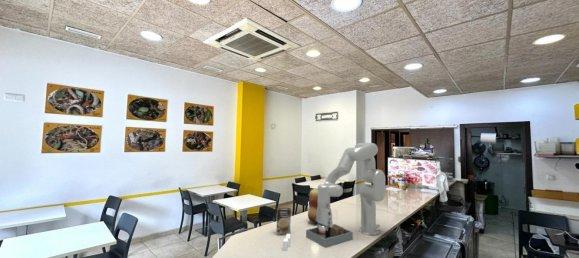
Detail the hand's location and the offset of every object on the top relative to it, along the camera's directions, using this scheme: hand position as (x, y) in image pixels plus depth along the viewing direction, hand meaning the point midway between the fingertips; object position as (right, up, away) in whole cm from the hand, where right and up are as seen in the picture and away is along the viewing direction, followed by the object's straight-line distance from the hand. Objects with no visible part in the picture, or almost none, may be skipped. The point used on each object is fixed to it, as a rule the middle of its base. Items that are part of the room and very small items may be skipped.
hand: (323, 234), depth 147 cm
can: (0, -1, 0) cm, 1 cm away
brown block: (+8, -3, +5) cm, 10 cm away
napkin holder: (-23, -3, -9) cm, 25 cm away
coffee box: (-25, -4, +11) cm, 28 cm away
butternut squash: (-1, -6, +32) cm, 32 cm away
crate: (+4, -4, +2) cm, 6 cm away
